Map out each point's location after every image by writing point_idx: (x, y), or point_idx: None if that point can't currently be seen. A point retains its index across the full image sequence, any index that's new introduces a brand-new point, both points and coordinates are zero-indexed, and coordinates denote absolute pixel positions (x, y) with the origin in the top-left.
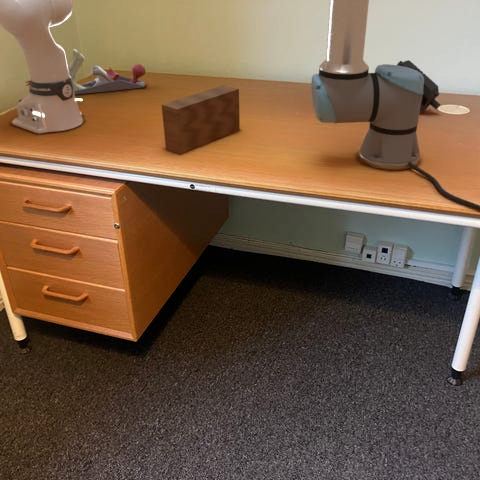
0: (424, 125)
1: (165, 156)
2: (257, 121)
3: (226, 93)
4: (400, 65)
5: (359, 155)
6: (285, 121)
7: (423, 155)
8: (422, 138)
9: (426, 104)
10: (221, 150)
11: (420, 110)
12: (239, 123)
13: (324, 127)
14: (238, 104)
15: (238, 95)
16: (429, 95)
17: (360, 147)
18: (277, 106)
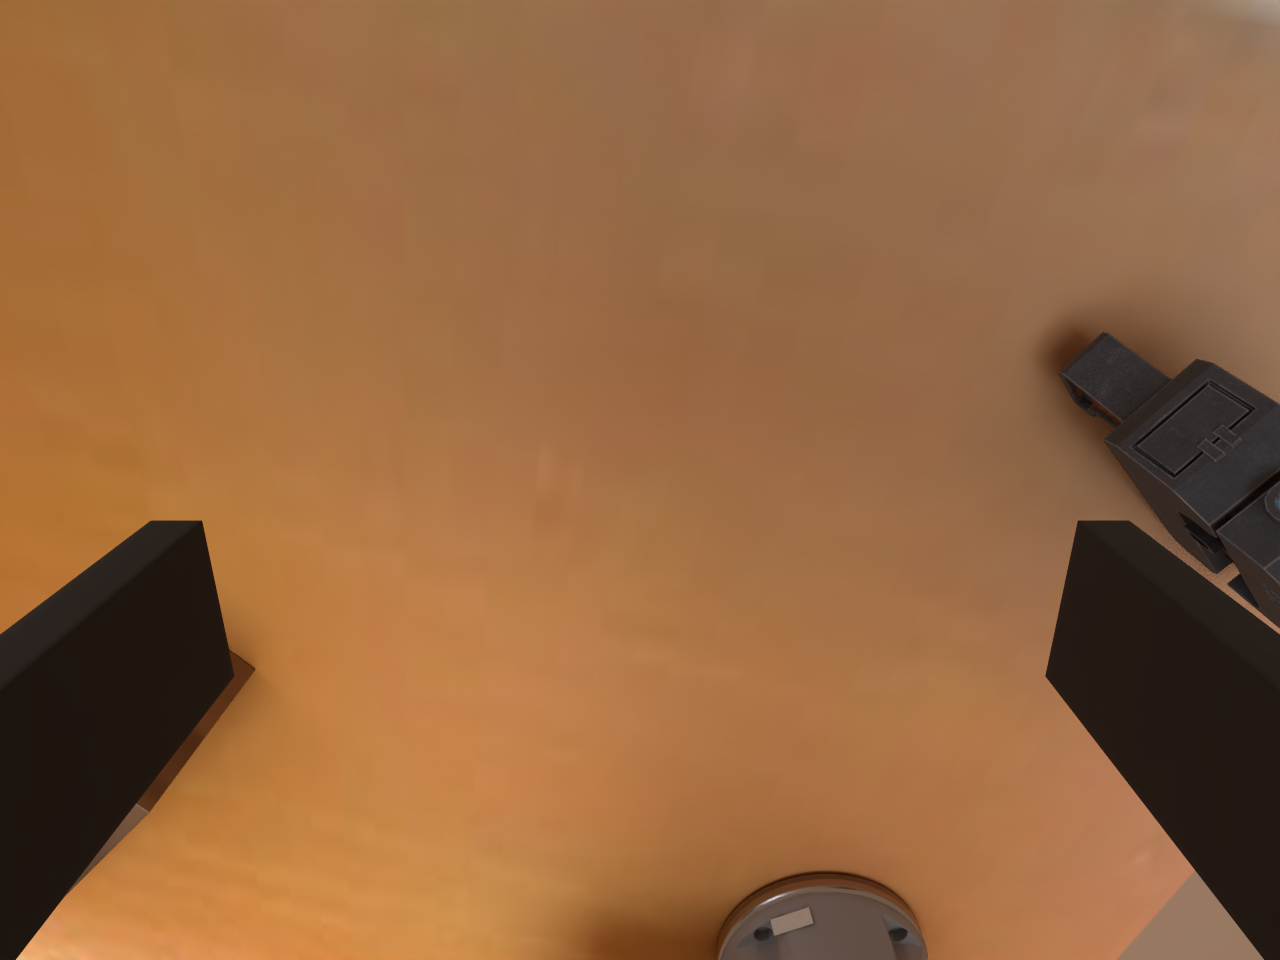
0: None
1: None
2: (331, 563)
3: (95, 865)
4: (1263, 572)
5: (717, 953)
6: (474, 575)
7: (951, 933)
8: (1029, 806)
9: (1237, 592)
10: (210, 847)
11: (1197, 559)
12: (239, 690)
13: (654, 664)
14: (190, 755)
15: (165, 789)
16: (1278, 624)
17: (726, 957)
18: (438, 333)
